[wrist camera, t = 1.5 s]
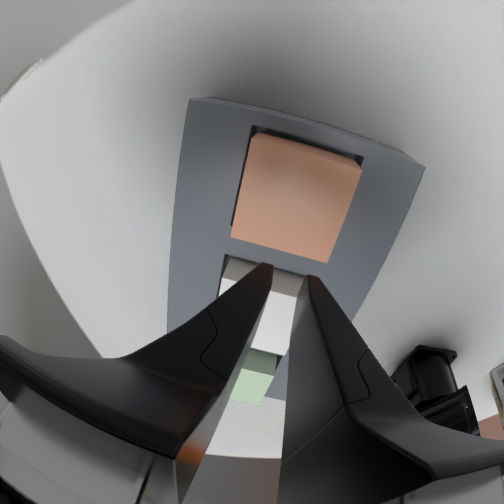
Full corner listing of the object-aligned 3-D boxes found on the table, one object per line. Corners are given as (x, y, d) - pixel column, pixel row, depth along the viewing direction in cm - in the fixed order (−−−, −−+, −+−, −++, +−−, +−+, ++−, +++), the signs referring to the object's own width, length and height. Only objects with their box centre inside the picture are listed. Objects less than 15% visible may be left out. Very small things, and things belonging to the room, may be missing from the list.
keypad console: (404, 153, 18) (425, 167, 14) (299, 373, 31) (297, 402, 27) (209, 97, 18) (189, 99, 14) (179, 341, 31) (167, 368, 28)
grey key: (310, 277, 20) (310, 301, 18) (287, 331, 23) (284, 355, 21) (231, 256, 20) (222, 277, 18) (219, 313, 23) (211, 336, 21)
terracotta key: (354, 159, 15) (362, 170, 13) (324, 242, 18) (326, 263, 16) (258, 131, 15) (251, 138, 13) (239, 218, 18) (230, 236, 16)
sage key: (277, 353, 24) (274, 376, 22) (262, 385, 27) (258, 405, 25) (214, 336, 24) (207, 358, 22) (208, 371, 27) (201, 390, 25)
